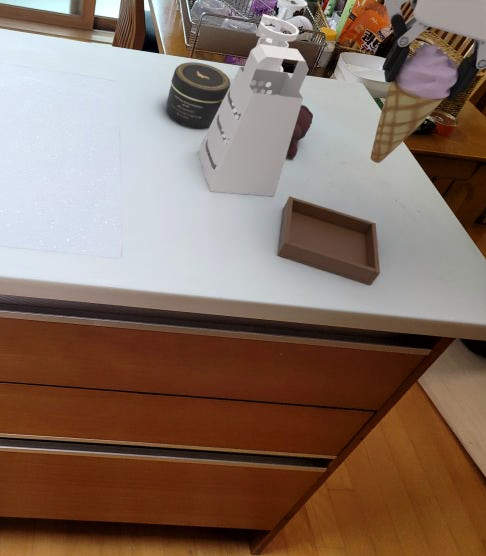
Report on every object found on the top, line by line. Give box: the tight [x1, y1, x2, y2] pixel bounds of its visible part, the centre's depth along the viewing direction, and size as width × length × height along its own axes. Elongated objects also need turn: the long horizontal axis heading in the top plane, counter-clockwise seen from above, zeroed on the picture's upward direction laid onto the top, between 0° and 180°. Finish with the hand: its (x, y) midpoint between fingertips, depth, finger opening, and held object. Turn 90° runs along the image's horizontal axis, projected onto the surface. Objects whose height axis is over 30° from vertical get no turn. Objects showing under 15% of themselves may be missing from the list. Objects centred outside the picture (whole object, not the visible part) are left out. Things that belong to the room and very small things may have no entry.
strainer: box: [244, 13, 300, 94], centre depth 102 cm, size 7×7×15 cm
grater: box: [197, 44, 310, 197], centre depth 81 cm, size 10×10×20 cm
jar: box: [166, 61, 231, 129], centre depth 96 cm, size 10×10×8 cm
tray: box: [277, 196, 381, 286], centre depth 79 cm, size 13×11×2 cm
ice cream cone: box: [369, 42, 458, 164], centre depth 65 cm, size 7×6×15 cm
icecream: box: [286, 104, 314, 159], centre depth 96 cm, size 7×7×15 cm
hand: (418, 85), depth 63 cm, fingers closed on ice cream cone, 6 cm apart
